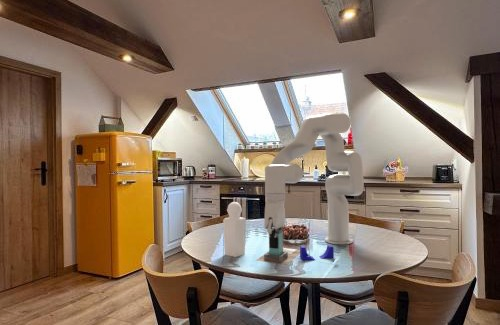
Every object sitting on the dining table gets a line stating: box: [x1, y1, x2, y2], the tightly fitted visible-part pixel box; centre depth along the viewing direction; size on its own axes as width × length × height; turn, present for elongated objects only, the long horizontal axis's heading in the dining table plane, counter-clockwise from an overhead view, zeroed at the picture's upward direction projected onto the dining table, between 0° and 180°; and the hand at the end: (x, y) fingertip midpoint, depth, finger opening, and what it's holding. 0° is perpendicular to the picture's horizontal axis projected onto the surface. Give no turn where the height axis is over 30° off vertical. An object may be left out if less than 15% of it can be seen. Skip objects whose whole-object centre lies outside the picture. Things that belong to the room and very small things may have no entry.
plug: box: [268, 227, 284, 255], centre depth 119 cm, size 4×4×9 cm
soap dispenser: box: [222, 201, 247, 258], centre depth 125 cm, size 6×6×22 cm
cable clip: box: [299, 244, 335, 263], centre depth 119 cm, size 12×4×6 cm, turn 94°
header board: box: [256, 247, 300, 265], centre depth 123 cm, size 20×12×4 cm, turn 154°
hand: (276, 245), depth 119 cm, fingers closed on plug, 4 cm apart
